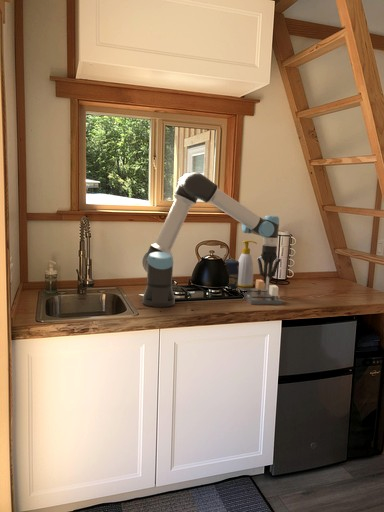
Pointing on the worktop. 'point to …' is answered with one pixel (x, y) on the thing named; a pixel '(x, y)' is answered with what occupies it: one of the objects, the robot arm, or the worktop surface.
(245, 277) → the soap bottle
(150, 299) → the robot arm
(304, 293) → the worktop surface
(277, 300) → the console
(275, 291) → the block
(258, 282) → the block
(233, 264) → the canister
